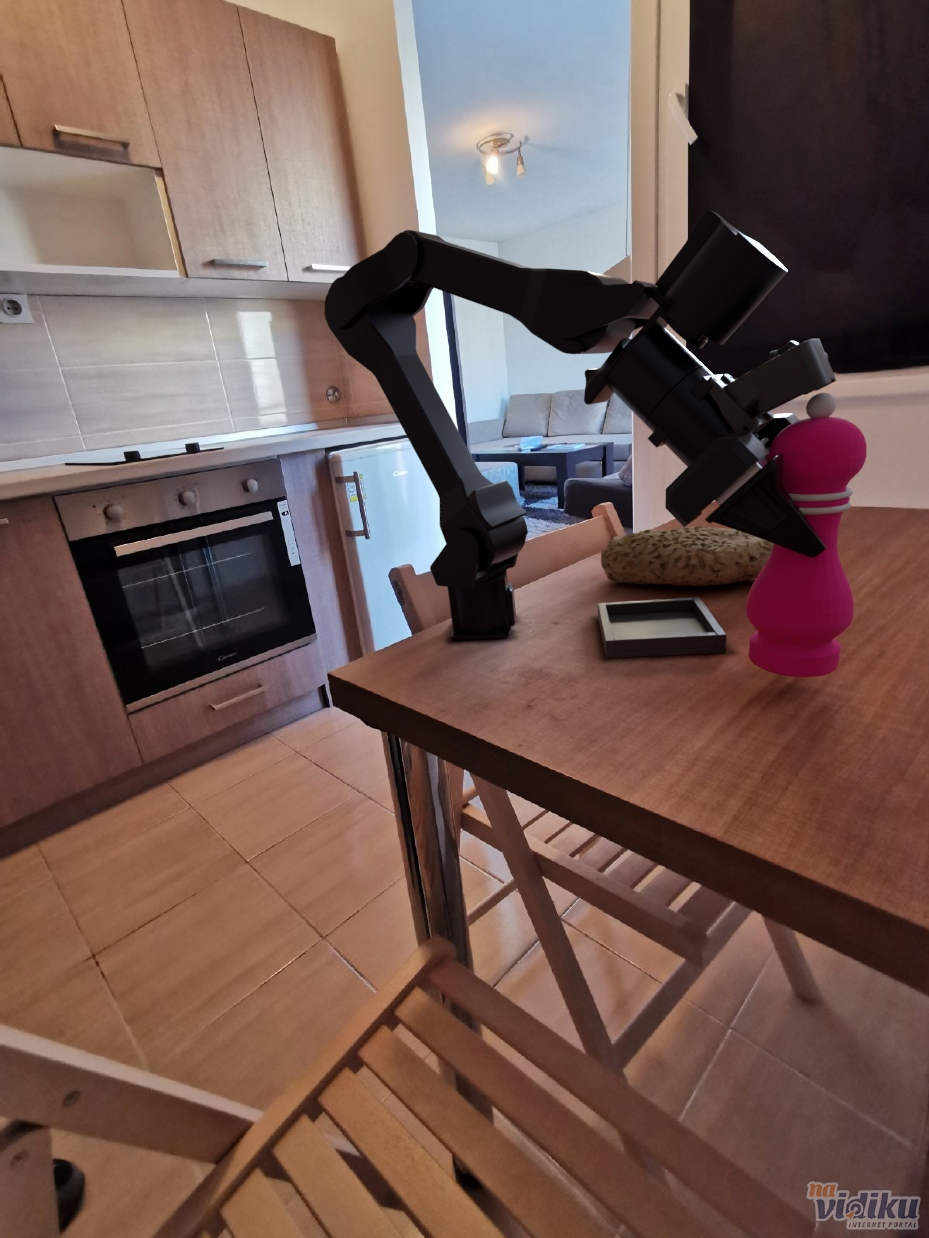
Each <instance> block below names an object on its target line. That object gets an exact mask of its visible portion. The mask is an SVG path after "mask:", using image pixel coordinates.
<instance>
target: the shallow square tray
mask: <svg viewBox="0 0 929 1238" xmlns="http://www.w3.org/2000/svg"><path fill="white" fill-rule="evenodd" d="M597 619H598V624H599V630H600V634H601V640H602V643H603V649H604V654H605V658H606V659H619V658H620V659H621V658H641V657H662V656H663V657H665V656H684V655H687V656H688V655H706V654H709V655H710V654H726V652H727V636H728V635H727V634H726V632H725V631H724V630H723V628H722V626H721V625H720V624H719V622H718V621H717V620H716V618H715V617H714V616H713V614H712V613H711V611H710V610H709V609H708V607H707V605H706V604H705V603H704V602H703V600H702V598H701V597H699V596H692V597H675V598H658V599H644V600H627V601H611V602H598V603H597Z"/></svg>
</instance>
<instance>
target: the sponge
mask: <svg viewBox="0 0 929 1238" xmlns="http://www.w3.org/2000/svg"><path fill="white" fill-rule="evenodd" d="M773 546H774V543H771V542H769V541H766V540H763V539H760V538H758V537H755V536H752V535H750V534H747V533H744V532H741V531H738V530H735V529H732V528H729V527H715V526H701V525H697V526H696V525H695V526H685V527H676V528H672V529H670V530H665V529H663V530H662V529H661V530H655V529H645V530H639V531H638V532H632V533H630V534H626V533H625V534H624V535H622V536H613V538H612V539H610V540H609V541H608V544H607V545H606V549H604V548H603V549H602V550H601V552H600V556H601V557H600V563H601V564H600V565H601V567H602V569H603V571H604V573H605V575H606V577H607V579H608V580H610V581H611V582H615V583H622V584H623V583H625V584H633V585H634V584H635V585H636V584H638V585H658V586H660V585H671V586H692V587H705V586H719V585H720V586H721V585H728V584H733V583H740V582H745V581H750V580H753V579H756V578H757V576H758V575H759V573H760V571H761V570H762V568H763V567H764V565H765V563H766V562H767V560H768V558H769V556H770V554H771V552H772V549H773Z"/></svg>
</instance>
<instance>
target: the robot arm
mask: <svg viewBox="0 0 929 1238" xmlns="http://www.w3.org/2000/svg"><path fill="white" fill-rule="evenodd" d="M788 272H789V270H788V269H787V268H786V266H784V264H783V263H782V262H781V261H780V260H779V259H778V258H776V256H775V255H773V254H772V253H771V252H770V251H769V250H768V249H767V248H765V246H763V245H762V244H761V243H760V242H758V241H757V240H755V239H753V238H751V237H749V236H748V235H746V234H744V233H743V232H741V231H739V230H738V229H737V228H736V227H734V226H733V225H732V224H730V223H729V222H728V221H727V220H725V219H724V218H723V217H722V216H721V215H720V214H719V213H717V212H716V211H713V210H712V209H707V210H705V212H704V213H703V214H702V215H701V217H700V218H699V219H698V220H697V222H696V223H695V225H694V227H693V228H692V230H691V232H690V233H689V236H688V238H687V240H686V241H685V243H684V245H682V246H681V248H680V250H679V251H678V252H677V253H676V255H675V256H674V258H673V259H672V260H671V262H670V263H669V265H668V266H667V267H666V268H665V270H664V271H663V272H662V274H661V275H660V277H659V278H658V279H657V281H656V282H655V283H651V282H646V281H642V280H637V279H635V280H633V282H631V283H629V282H628V281H626V280H624V279H623V278H621V277H617V276H612V275H607V274H603V273H597V272H593V271H587V270H579V269H564V268H563V269H562V268H545V267H544V268H543V267H541V268H535V267H534V268H533V267H529V266H526V265H523V264H521V263H517V262H513V261H509V260H507V259H504V258H500V257H497V256H494V255H491V254H487V253H485V252H481V251H478V250H475V249H472V248H469V247H465V246H462V245H458V244H455V243H453V242H449V241H447V240H444V239H443V238H442V237H441V236H439V235H437V234H431V233H427V232H423V231H422V232H421V231H418V230H413V229H405V230H404V231H402V232H399V233H398V234H396V235H394V236H393V237H392V238H391V240H390V241H389V242H388V243H387V244H386V245H385V246H384V247H383V248H381V249H380V250H378V251H377V252H374V253H373V254H371V255H369V256H368V257H366V258H364V259H362V260H360V261H358V262H357V263H355V264H354V265H352V266H351V267H350V268H349V269H348V270H347V271H346V272H345V273H344V274H343V275H341V276H339V277H337V278H336V279H334V280H333V282H332V283H331V284H330V286H329V289H328V291H327V294H326V296H325V300H324V313H323V314H324V318H325V321H326V324H327V326H328V329H329V330H330V332H331V334H332V335H333V336H334V337H335V339H336V340H337V342H338V343H339V344H340V345H341V347H342V349H343V350H344V352H345V353H346V354H347V355H348V356H350V357H351V358H352V359H353V360H354V361H356V362H357V363H359V364H360V365H361V366H362V367H364V368H365V369H366V370H368V371H369V372H371V374H372V375H373V377H375V380H376V381H377V383H378V384H379V386H380V388H381V390H382V392H383V394H384V396H385V398H386V399H387V401H388V403H389V405H390V407H391V409H392V411H393V413H394V414H395V417H396V419H397V420H398V422H399V424H400V426H401V427H402V428H401V429H402V430H403V431H404V433H405V435H406V437H407V439H408V441H409V443H410V444H411V447H412V448H413V450H414V452H415V454H416V456H417V458H418V459H419V462H420V463H421V465H422V467H423V468H424V471H425V472H426V475H427V477H428V478H429V480H430V483H431V484H432V486H433V488H434V489H435V492H436V493H437V496H438V498H439V499H438V500H439V529H440V531H441V534H442V536H443V540H444V542H445V545H444V547H443V548H442V549H441V551H440V552H439V553H438V555H437V556H436V558H435V559H434V560H433V562H432V563H431V564H430V566H429V570H430V572H431V575H432V577H433V579H434V583H435V584H436V586H439V587H447V595H448V602H449V610H450V618H451V625H452V629H451V631H450V634H449V637H450V640H451V641H464V640H482V639H483V640H485V639H502V638H509V637H510V636H511V632H512V627H514V626H515V625H516V621H517V609H516V597H515V589H514V587H515V586H514V584H513V582H509V581H508V570H510V569H513V568H515V567H516V565H517V560H518V557H519V553H520V552H521V551H522V549H523V548H524V546H525V545H526V540H527V535H528V534H529V529H528V525H527V522H526V519H525V518H524V516H526V515H527V514H528V511H526V509H524V508H523V507H522V506H521V504H520V503H519V501H518V500H517V497H516V495H515V492H514V489H513V486H512V485H511V483H510V482H509V481H508V480H506V479H505V480H502V481H499V482H496V483H493V482H492V481H490V480H489V479H488V478H486V476H484V475H483V473H482V472H481V471H480V469H479V467H478V466H477V464H476V462H475V460H474V458H473V455H472V454H471V452H470V450H469V448H468V447H467V445H466V443H465V441H464V439H463V437H462V435H461V433H460V432H459V430H458V428H457V426H456V423H454V422H455V421H453V419H452V417H451V415H450V412H449V411H448V409H447V407H446V405H445V403H444V402H443V400H442V397H441V396H440V394H439V392H438V390H437V388H436V386H435V385H434V382H433V381H432V378H430V375H429V374H428V371H427V369H426V368H425V366H424V364H423V362H422V360H421V358H420V356H419V354H418V352H417V351H418V350H417V322H416V320H415V316H416V315H417V314H418V313H420V312H421V311H422V310H423V309H424V308H425V307H426V304H427V302H428V300H429V298H430V296H431V293H432V291H433V290H434V289H435V290H439V291H441V292H444V293H447V294H449V295H452V296H455V297H458V298H461V299H464V300H467V301H470V302H473V303H475V304H478V305H481V306H484V307H486V308H489V309H492V310H495V311H497V312H500V313H503V314H507V315H508V316H509V317H511V318H513V319H515V320H517V321H518V322H520V323H521V324H522V325H523V326H524V327H525V328H526V330H528V332H530V333H531V334H532V335H533V336H535V337H537V338H538V339H540V340H542V341H543V342H545V343H546V344H548V345H549V346H551V347H552V348H554V349H556V350H557V351H559V352H561V353H563V354H567V355H568V354H569V355H593V354H595V355H597V354H609V353H610V354H609V355H608V357H607V358H606V359H605V361H604V362H603V364H601V366H600V367H598V368H589V369H588V368H587V369H586V370H585V371H584V377H585V387H584V392H583V393H584V396H583V402H584V404H585V405H588V406H589V405H594V404H600V403H606V402H608V401H609V400H610V398H611V397H612V396H613V395H616V397H617V398H619V399H620V400H621V401H622V403H624V405H626V407H627V408H629V410H631V412H632V413H633V414H635V415H636V417H637V418H638V419H640V420H641V422H642V423H643V424H644V425H645V426H646V427H647V428H648V429H649V430H650V431H651V432H652V433H651V434H650V435H649V436H648V437H647V440H648V441H649V442H650V443H651V444H652V445H653V446H654V447H655V448H656V449H657V448H660V447H662V446H666V447H667V448H668V449H669V450H670V451H671V452H672V453H673V454H674V455H675V456H676V457H677V458H678V459H679V460H680V461H681V462H682V463H683V464H684V466H686V468H685V469H684V470H683V471H682V472H681V473H680V474H678V476H677V477H676V478H675V479H674V480H673V481H672V482H671V483H670V484H669V485H667V487H666V488H665V505H664V506H665V507H664V508H665V509H666V511H668V512H669V513H670V514H671V515H672V517H673V518H675V520H676V521H677V522H679V524H680V525H681V526H682V528H686V527H688V525H690V524H691V523H693V522H694V521H695V520H697V519H699V517H700V516H701V515H702V514H703V511H704V510H705V509H706V508H707V507H708V506H710V505H711V504H713V502H715V503H716V504H717V505H718V507H716V508H715V509H714V510H713V511H712V512H710V513H709V515H708V516H706V517H705V518H704V520H705V521H706V523H709V524H712V523H715V524H718V525H721V526H723V527H725V528H728V529H735V530H738V531H741V532H744V533H747V534H750V535H752V536H755V537H758V538H760V539H763V540H766V541H769V542H771V543H774V544H776V545H779V546H782V547H784V548H787V549H789V550H792V551H795V552H797V553H800V554H802V555H805V556H808V557H810V558H814V557H816V556H818V555H819V554H820V553H822V552H823V551H824V550H825V549H826V546H825V544H824V543H823V541H822V540H821V538H820V537H819V535H818V534H817V532H816V531H815V529H814V528H813V527H812V525H811V524H810V523H809V521H808V520H807V518H806V517H805V516H804V514H803V513H802V512H801V510H800V509H799V508H798V506H797V505H796V503H795V502H794V501H793V499H792V498H791V497H790V495H789V494H788V493H787V491H786V490H785V489H784V487H783V485H782V471H783V453H780V454H779V455H777V456H776V457H774V458H773V459H772V460H771V461H769V462H768V461H767V458H768V453H769V449H770V446H771V444H772V442H773V440H774V439H775V437H776V436H777V435H778V434H779V433H780V432H781V431H782V430H783V429H784V428H786V427H787V426H789V425H791V424H792V423H794V422H797V421H800V420H801V419H799V418H798V417H797V416H796V415H795V414H794V413H789V412H788V413H776V414H773V413H772V412H771V411H773V410H775V409H777V408H779V407H781V406H783V405H786V404H787V403H789V402H791V401H793V400H795V399H797V398H798V397H801V396H803V395H804V396H806V395H809V394H810V393H813V392H814V391H817V392H818V391H819V390H821V389H823V388H825V387H828V386H829V385H831V384H833V383H835V382H836V381H837V378H836V376H835V373H834V372H833V369H832V366H831V364H830V362H829V354H828V353H827V352H826V351H825V349H824V347H823V345H822V343H821V339H820V338H809V339H806V340H803V342H800V343H799V342H797V341H796V340H789V341H787V343H786V344H785V345H784V346H782V347H779V348H778V349H774V350H771V351H770V352H769V356H768V360H767V361H766V362H764V363H763V364H760V365H759V366H757V367H755V368H753V369H751V370H750V371H747V372H746V373H745V374H743V375H741V376H740V377H739V378H736V379H735V378H733V376H732V375H730V374H728V373H723V374H722V373H721V374H719V373H718V374H713V372H712V371H711V370H709V369H708V368H707V367H706V366H705V365H704V364H703V362H701V361H700V360H699V359H698V358H697V357H696V356H695V355H694V354H693V353H692V352H691V351H689V349H688V348H686V347H685V346H684V345H683V344H682V343H681V342H680V341H679V340H678V339H677V338H676V337H675V336H674V334H672V333H671V332H670V331H669V330H668V329H667V327H668V326H669V327H670V328H671V330H673V331H674V332H675V334H677V335H678V336H679V337H680V338H682V339H683V341H685V342H686V343H688V344H690V345H691V346H693V347H695V348H698V349H703V348H704V346H706V344H707V343H708V340H710V341H712V342H714V343H716V344H718V345H724V344H725V343H726V342H727V341H728V339H729V338H730V337H731V336H732V335H733V334H734V333H735V332H736V331H737V330H738V328H739V327H740V326H741V325H742V324H743V323H744V322H745V320H746V319H747V318H748V317H749V316H750V315H751V313H752V312H753V311H754V310H756V308H757V307H758V306H759V305H760V303H762V301H763V300H764V299H765V298H766V297H767V295H768V294H769V293H770V292H771V291H772V290H773V289H774V288H775V286H776V285H778V283H779V282H780V281H781V280H782V279H783V278H784V276H785V275H786V274H787V273H788ZM637 330H638V332H637V333H636V334H635V335H634V336H633V337H632V338H630V337H631V336H632V334H633V332H635V331H637Z"/></svg>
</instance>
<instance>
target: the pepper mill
mask: <svg viewBox="0 0 929 1238" xmlns="http://www.w3.org/2000/svg"><path fill="white" fill-rule="evenodd" d="M836 408H837V401H836V398H835V397H834V396H833V395H832V394H831V393H828V392H820V393H817V394H815V395H813V396H811V398H810V399H809V400H808V401H807V404H806V406H805V411H806V414H807V416H808V418H803V419H799V420H800V421H797V422H794V423H792V424H791V425H789V426H787V427H786V428H784V429H783V430H782V431H781V432H780V433H779V434H778V435H777V436H776V437H775V439H774V440H773V442H772V444H771V446H770V449H769V453H768V458H767V461H768V462H769V461H771V460H772V459H773V458H774V457H776V456H777V455H779V454H780V453H783V471H782V485H783V487H784V489H785V490H786V491H787V493H788V494H789V495H790V497H791V498H792V499H793V501H794V502H795V503H796V505H797V506H798V508H799V509H800V510H801V512H802V513H803V514H804V516H805V517H806V518H807V520H808V521H809V523H810V524H811V525H812V527H813V528H814V529H815V531H816V532H817V534H818V535H819V537H820V538H821V540H822V541H823V543H824V544H825V546H826V549H825V550H824V551H823V552H822V553H820V554H819V555H818V556H816V557H814V558H810V557H808V556H805V555H802V554H800V553H797V552H795V551H792V550H789V549H787V548H784V547H782V546H779V545H776V544H774V546H773V549H772V552H771V554H770V556H769V558H768V560H767V562H766V563H765V565H764V567H763V568H762V570H761V571H760V573H759V575H758V576H757V578H755V580H754V581H753V583H752V585H751V587H750V590H749V592H748V594H747V600H746V604H745V614H746V617H747V619H748V621H749V623H750V624H751V625H752V627H754V629H755V630H756V631H754V632H753V633H752V634H751V635H750V637H749V644H748V658H749V660H750V662H752V663H753V664H754V665H755V666H756V667H758V668H759V669H761V670H763V671H767V672H769V673H771V674H776V675H780V676H787V677H793V678H816V677H822V676H826V675H830V674H831V673H833V672H835V671H836V670H837V669H838V667H839V662H840V655H841V648H842V647H841V644H840V642H839V641H838V640H837V639H836V638H837V637H838V636H840V635H841V634H843V633H844V632H845V631H846V630H847V629H848V628H849V627H850V625H851V624H852V622H853V620H854V606H855V605H854V604H855V603H854V597H853V592H852V588H851V586H850V583H849V580H848V578H847V575H846V573H845V571H844V568H843V565H842V562H841V560H840V556H839V555H840V554H839V548H838V539H839V527H840V525H841V524H840V523H841V520H842V516H843V512H845V511H848V510H849V509H850V508H851V507H852V503H851V502H850V500H851V496H853V489H852V488H850V487H848V485H849V483H850V482H851V481H852V479H853V478H855V477H856V475H858V474H859V473H860V472H861V470H862V469H863V467H864V466H865V463H866V459H867V449H868V448H867V447H868V446H867V441H866V438H865V436H864V433H863V431H862V430H861V429H860V428H859V427H858V426H857V425H856V424H854V423H853V422H851V421H849V420H847V419H843V418H840V417H836V416H832V415H833V414H834V412H835V411H836Z"/></svg>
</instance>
